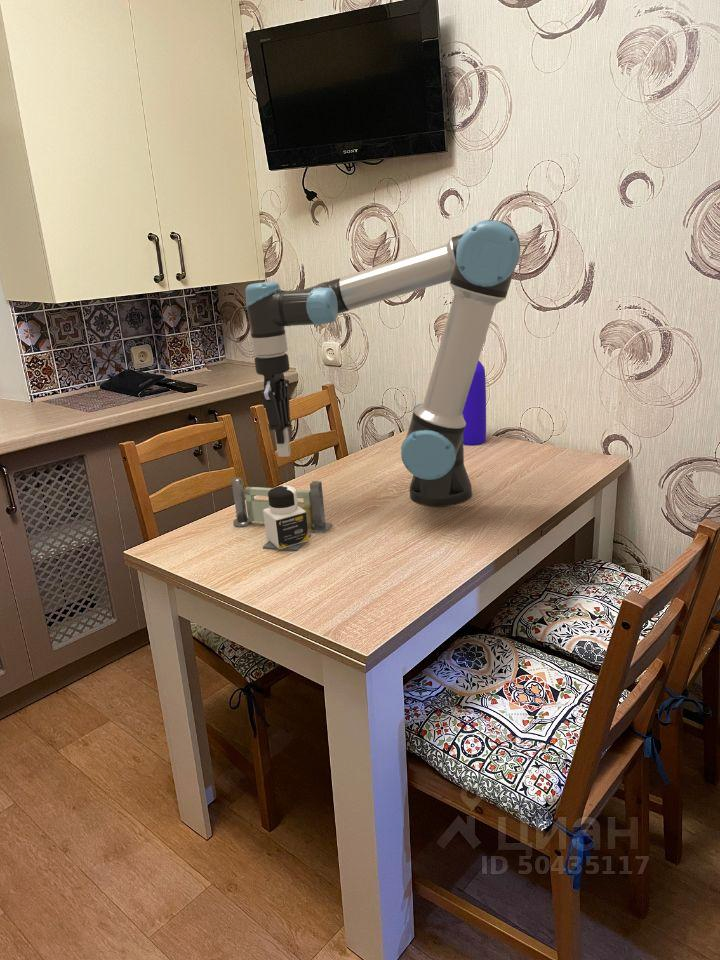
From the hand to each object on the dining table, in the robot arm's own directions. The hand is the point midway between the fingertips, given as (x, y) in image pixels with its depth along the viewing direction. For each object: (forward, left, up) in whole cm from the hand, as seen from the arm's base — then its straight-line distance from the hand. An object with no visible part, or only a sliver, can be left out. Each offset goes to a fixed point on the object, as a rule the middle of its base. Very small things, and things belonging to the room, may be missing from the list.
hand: (284, 455), depth 165 cm
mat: (-6, +16, -15) cm, 22 cm away
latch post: (-10, +8, -15) cm, 19 cm away
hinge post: (+9, +8, -15) cm, 19 cm away
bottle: (-33, -61, -15) cm, 71 cm away
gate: (-1, +8, -14) cm, 16 cm away
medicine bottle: (-6, +16, -14) cm, 22 cm away
